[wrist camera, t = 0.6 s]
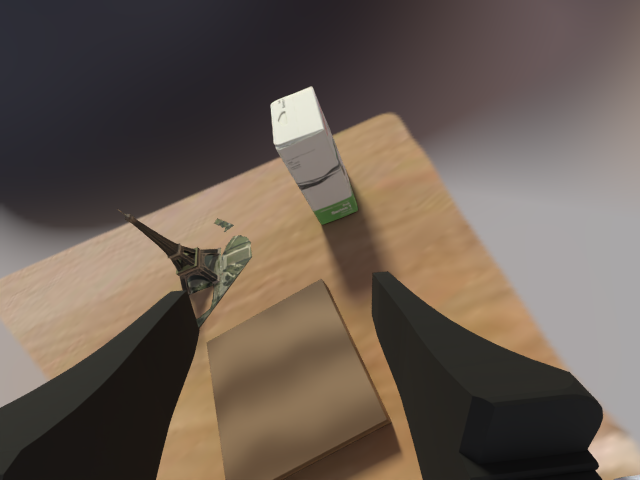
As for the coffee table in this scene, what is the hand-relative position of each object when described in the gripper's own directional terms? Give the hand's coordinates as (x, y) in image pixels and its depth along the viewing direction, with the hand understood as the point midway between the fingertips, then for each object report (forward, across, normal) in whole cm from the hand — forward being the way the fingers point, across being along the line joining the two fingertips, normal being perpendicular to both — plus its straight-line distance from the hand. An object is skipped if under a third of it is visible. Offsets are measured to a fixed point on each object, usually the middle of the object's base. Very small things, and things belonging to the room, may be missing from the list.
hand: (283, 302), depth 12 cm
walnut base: (+10, +1, +16) cm, 19 cm away
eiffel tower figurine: (+24, +12, +14) cm, 31 cm away
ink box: (+27, -5, +5) cm, 28 cm away
